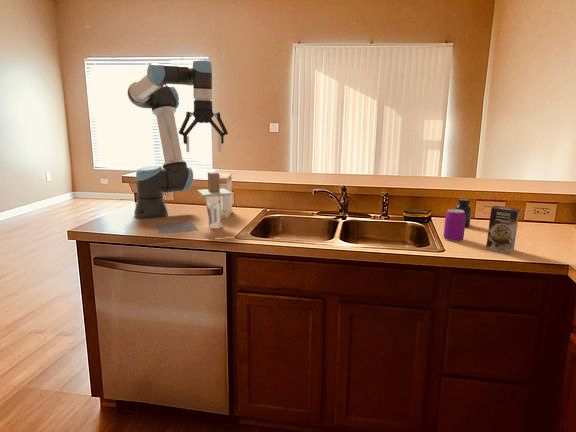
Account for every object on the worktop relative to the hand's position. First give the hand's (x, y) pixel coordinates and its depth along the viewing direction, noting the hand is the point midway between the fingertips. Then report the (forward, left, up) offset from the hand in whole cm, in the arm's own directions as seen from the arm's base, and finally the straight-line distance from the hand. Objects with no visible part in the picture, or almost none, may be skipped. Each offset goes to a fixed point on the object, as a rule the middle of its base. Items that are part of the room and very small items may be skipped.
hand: (204, 151), depth 186 cm
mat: (0, -13, -33) cm, 35 cm away
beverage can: (+53, +90, -33) cm, 110 cm away
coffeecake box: (-19, +12, -33) cm, 40 cm away
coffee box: (+70, +97, -33) cm, 124 cm away
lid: (+4, +3, -18) cm, 18 cm away
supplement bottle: (+36, +110, -33) cm, 120 cm away
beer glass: (+4, +3, -33) cm, 33 cm away
